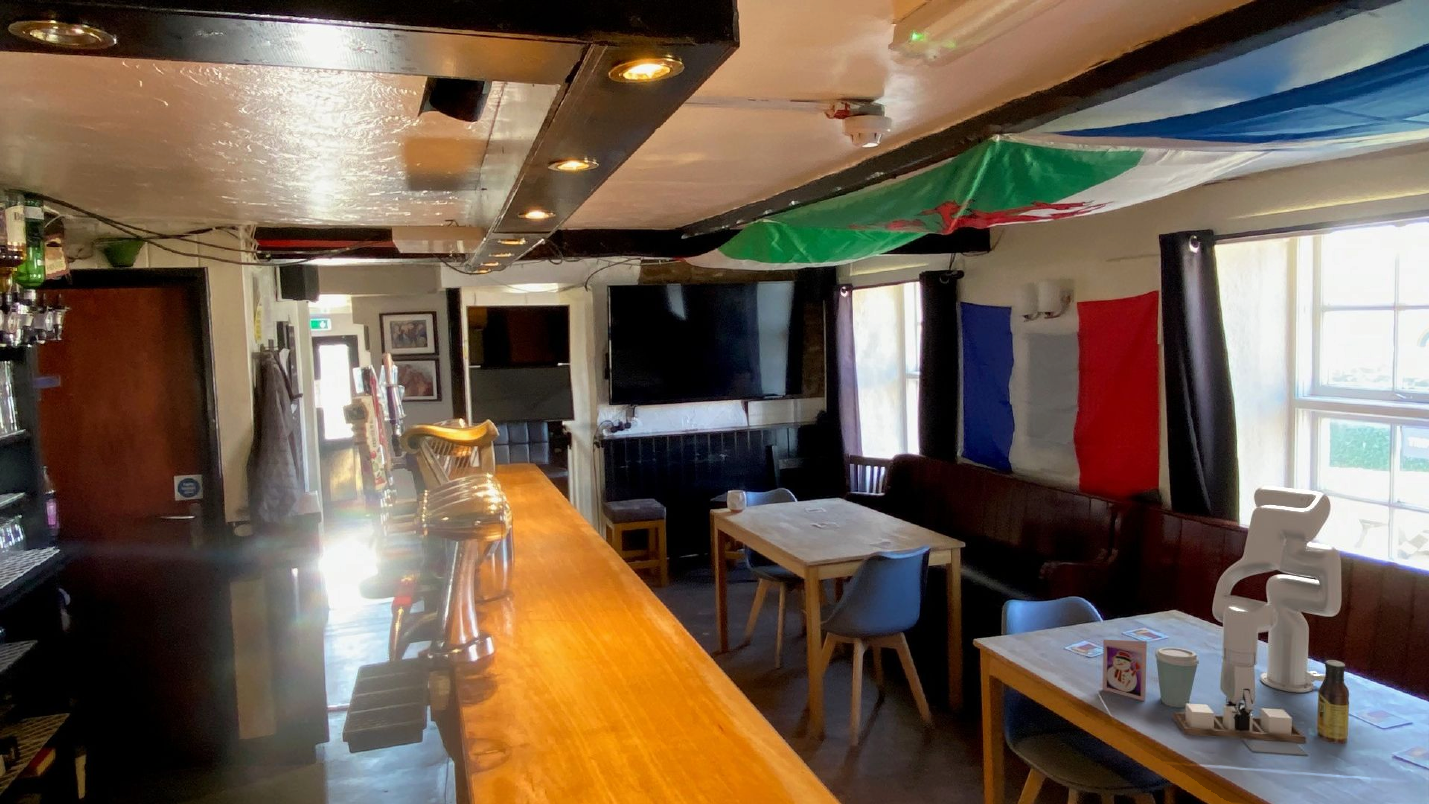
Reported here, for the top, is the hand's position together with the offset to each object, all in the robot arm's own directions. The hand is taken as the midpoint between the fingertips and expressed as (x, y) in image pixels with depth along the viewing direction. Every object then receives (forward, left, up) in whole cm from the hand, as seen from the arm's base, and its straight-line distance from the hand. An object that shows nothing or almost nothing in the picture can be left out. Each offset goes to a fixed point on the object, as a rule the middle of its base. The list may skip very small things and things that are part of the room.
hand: (1237, 723), depth 219 cm
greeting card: (+21, -20, -2) cm, 29 cm away
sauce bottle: (-21, +1, -2) cm, 21 cm away
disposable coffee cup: (+10, -15, -2) cm, 18 cm away
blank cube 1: (+9, 0, -2) cm, 9 cm away
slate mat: (-5, +9, -2) cm, 11 cm away
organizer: (0, 0, -2) cm, 2 cm away
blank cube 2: (-9, 0, -2) cm, 9 cm away
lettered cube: (0, 0, -1) cm, 1 cm away
